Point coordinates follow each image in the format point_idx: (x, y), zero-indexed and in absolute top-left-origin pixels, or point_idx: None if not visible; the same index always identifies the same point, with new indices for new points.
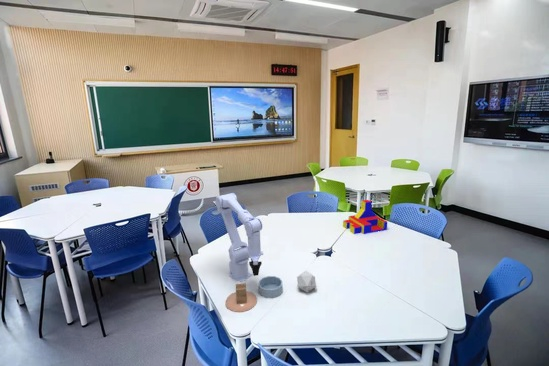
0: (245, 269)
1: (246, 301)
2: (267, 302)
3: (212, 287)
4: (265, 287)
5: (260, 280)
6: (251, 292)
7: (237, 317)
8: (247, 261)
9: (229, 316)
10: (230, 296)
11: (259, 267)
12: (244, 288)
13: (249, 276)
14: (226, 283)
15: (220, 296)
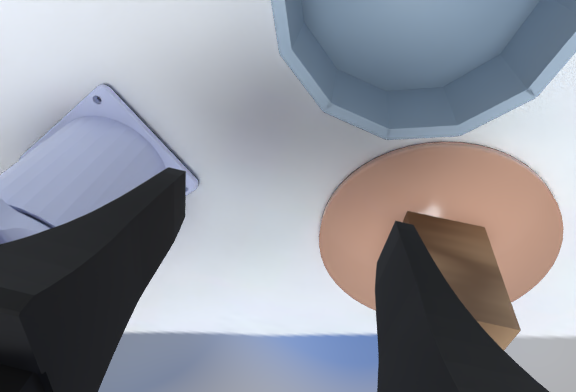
0: (112, 196)
1: (485, 237)
2: (572, 69)
3: (216, 320)
4: (345, 19)
5: (323, 99)
6: (374, 166)
7: (567, 292)
8: (25, 208)
9: (523, 319)
10: (354, 286)
11: (495, 347)
12: (501, 337)
13: (131, 114)
14: (191, 261)
15: (314, 311)
